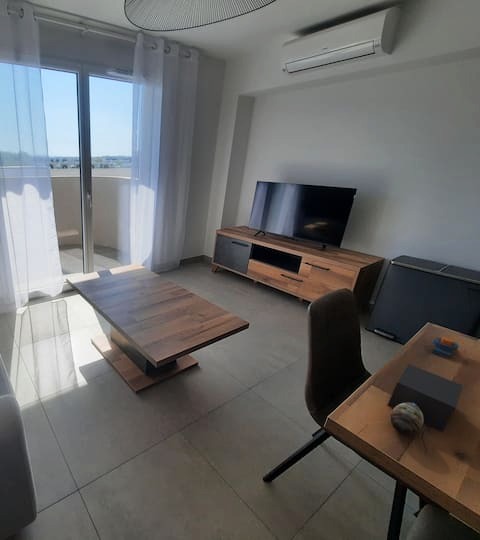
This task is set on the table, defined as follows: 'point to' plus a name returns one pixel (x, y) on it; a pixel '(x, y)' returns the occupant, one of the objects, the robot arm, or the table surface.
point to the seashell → (407, 418)
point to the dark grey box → (427, 395)
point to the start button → (447, 341)
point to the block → (444, 348)
